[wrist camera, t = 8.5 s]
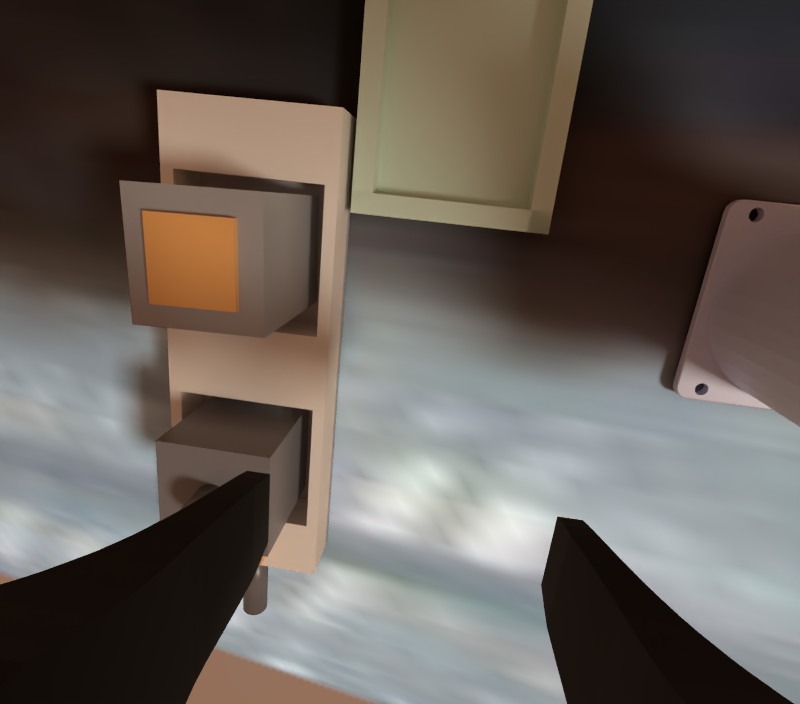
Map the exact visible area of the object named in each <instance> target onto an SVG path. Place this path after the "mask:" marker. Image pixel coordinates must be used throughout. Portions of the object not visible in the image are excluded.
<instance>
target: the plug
mask: <svg viewBox="0 0 800 704" xmlns="http://www.w3.org/2000/svg"><path fill="white" fill-rule="evenodd" d="M119 183H120V193H121V204H122V215H123V226H124V237H125V247H126V258H127V269H128V280H129V291H130V301H131V312H132V323H133V324H135V325H145V326H154V327H164V328H173V329H183V330H192V331H202V332H211V333H221V334H230V335H240V336H249V337H259V338H265V337H267V336H268V335H270V334H271V333H272V332H274V331H275V330H277V329H278V328H280V327H281V326H283V325H284V324H286V323H287V322H288V321H290V320H291V319H293V318H294V317H296V316H297V315H299V314H300V313H301V312H303V311H304V310H306V309H307V308H309V307H310V306H312V305H313V304H315V303H316V302H317V261H318V220H319V196H313V195H300V194H288V193H275V192H262V191H250V190H237V189H225V188H212V187H199V186H186V185H174V184H161V183H148V182H135V181H123V180H119Z"/></svg>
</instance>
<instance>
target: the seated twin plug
mask: <svg viewBox="0 0 800 704" xmlns="http://www.w3.org/2000/svg"><path fill="white" fill-rule="evenodd" d="M308 423H309V410H307V409H300V408H293V407H286V406H279V405H272V404H265V403H258V402H251V401H244V400H237V399H230V398H223V397H216V396H212V397H211V398H210V399H209V400H207V401H206V402H205V403H203V404H202V405H201V406H200V407H198V408H197V409H196V410H194V411H193V412H192V413H191V414H189V415H188V416H187V417H185V418H184V419H183V420H182V421H180V422H179V423H178V424H177V425H175V426H174V427H173V428H171V429H170V430H169V431H168V432H166V433H165V434H164V435H162V436H161V437H160V438H159V439H157V440H156V455H157V473H158V491H159V510H160V521H161V520H163V519H165V518H166V517H168V516H170V515H172V514H174V513H176V512H178V511H179V510H181V509H183V508H185V507H187V506H188V505H190V504H192V503H193V502H195V501H197V500H198V499H200V498H202V497H203V496H205V495H207V494H208V493H210V492H212V491H213V490H215V489H217V488H218V487H220V486H222V485H223V484H225V483H226V482H228V481H230V480H231V479H233V478H235V477H236V476H238V475H240V474H242V473H244V472H245V471H253V472H259V473H266V474H270V498H269V534H268V544H267V546H266V549H265V551H264V554H263V556H265V557H268V555H269V553H270V551H271V549H272V548H273V546H274V544H275V542H276V540H277V538H278V536H279V535H280V533H281V531H282V529H283V527H284V525H285V523H286V521H287V520H288V518H289V516H290V514H291V512H292V510H293V508H294V507H295V505H296V503H297V501H298V499H299V497H300V495H301V493H302V492H303V490H304V488H305V482H306V462H307V443H308Z"/></svg>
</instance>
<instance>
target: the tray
mask: <svg viewBox="0 0 800 704" xmlns="http://www.w3.org/2000/svg"><path fill="white" fill-rule="evenodd" d="M592 5H593V0H365V11H364V25H363V39H362V54H361V68H360V82H359V97H358V111H357V125H356V139H355V154H354V168H353V182H352V196H351V211H350V212H351V213H360V214H369V215H378V216H387V217H395V218H404V219H413V220H422V221H431V222H440V223H449V224H458V225H467V226H476V227H485V228H494V229H503V230H512V231H521V232H530V233H539V234H549V229H550V224H551V218H552V213H553V208H554V203H555V198H556V192H557V187H558V182H559V177H560V171H561V166H562V161H563V156H564V151H565V145H566V140H567V135H568V130H569V124H570V119H571V114H572V109H573V104H574V98H575V93H576V88H577V83H578V78H579V72H580V67H581V62H582V57H583V51H584V46H585V41H586V36H587V31H588V25H589V20H590V15H591V10H592Z"/></svg>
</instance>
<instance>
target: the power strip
mask: <svg viewBox="0 0 800 704" xmlns="http://www.w3.org/2000/svg"><path fill="white" fill-rule="evenodd" d="M157 105H158V128H159V151H160V174H161V184H174V185H186V186H199V187H212V188H225V189H237V190H250V191H262V192H275V193H288V194H300V195H313V196H319V220H318V261H317V302H316V303H315V304H313V305H312V306H310V307H309V308H307V309H306V310H304V311H303V312H301V313H300V314H299V315H297V316H296V317H294V318H293V319H291V320H290V321H288V322H287V323H286V324H284V325H283V326H281V327H280V328H278V329H277V330H275V331H274V332H272V333H271V334H270V335H268V336H267V337H265V338H259V337H249V336H240V335H230V334H221V333H211V332H202V331H192V330H183V329H173V328H167V337H168V360H169V383H170V406H171V428H173V427H174V426H175V425H177V424H178V423H179V422H180V421H182V420H183V419H184V418H185V417H187V416H188V415H189V414H191V413H192V412H193V411H194V410H196V409H197V408H198V407H200V406H201V405H202V404H203V403H205V402H206V401H207V400H209V399H210V398H211V397H212V396H216V397H223V398H230V399H237V400H244V401H251V402H258V403H265V404H272V405H279V406H286V407H293V408H300V409H307V410H309V423H308V443H307V462H306V482H305V488H304V490H303V492H302V493H301V495H300V497H299V499H298V501H297V503H296V505H295V507H294V508H293V510H292V512H291V514H290V516H289V518H288V520H287V521H286V523H285V525H284V527H283V529H282V531H281V533H280V535H279V536H278V538H277V540H276V542H275V544H274V546H273V548H272V549H271V551H270V553H269V555H268V557H265V556H262V559H261V561H260V564H259V566H258V568H257V571H256V573H255V575H254V578H253V580H252V582H251V583H250V585H249V587H248V589H247V591H246V592H245V594H244V596H243V609H244V611H245V612H246V613H247V614H249V615H257V614H260V613H262V612H263V611H264V610H265V609H266V607H267V587H268V567H274V568H280V569H286V570H292V571H298V572H304V573H310V574H315V571H316V569H317V566H318V563H319V561H320V558H321V556H322V553H323V550H324V548H325V545H326V543H327V537H328V523H329V508H330V494H331V480H332V465H333V451H334V437H335V423H336V408H337V394H338V380H339V365H340V351H341V337H342V323H343V308H344V294H345V280H346V265H347V251H348V237H349V222H350V208H351V194H352V180H353V165H354V151H355V137H356V122H357V119H356V118H355V117H353V116H352V115H351V114H350V113H349V112H348V111H347V110H346V109H344V108H343V107H334V106H323V105H313V104H302V103H292V102H281V101H271V100H260V99H250V98H239V97H229V96H218V95H208V94H197V93H187V92H176V91H166V90H157Z"/></svg>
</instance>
